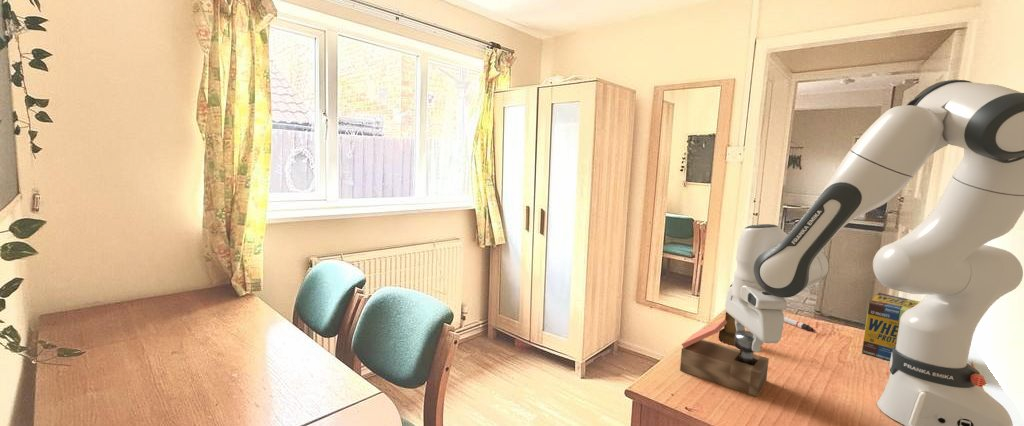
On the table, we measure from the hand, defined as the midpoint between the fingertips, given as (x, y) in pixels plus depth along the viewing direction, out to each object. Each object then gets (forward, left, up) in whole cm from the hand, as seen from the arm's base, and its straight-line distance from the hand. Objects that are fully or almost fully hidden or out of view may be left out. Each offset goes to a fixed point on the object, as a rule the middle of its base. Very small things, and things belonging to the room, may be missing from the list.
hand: (747, 344), depth 106 cm
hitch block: (+5, 0, -10) cm, 11 cm away
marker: (-3, -55, -11) cm, 56 cm away
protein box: (-28, -50, -11) cm, 58 cm away
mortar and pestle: (+9, -25, -10) cm, 29 cm away
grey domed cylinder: (0, 0, -6) cm, 6 cm away
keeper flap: (+10, 0, -1) cm, 10 cm away
